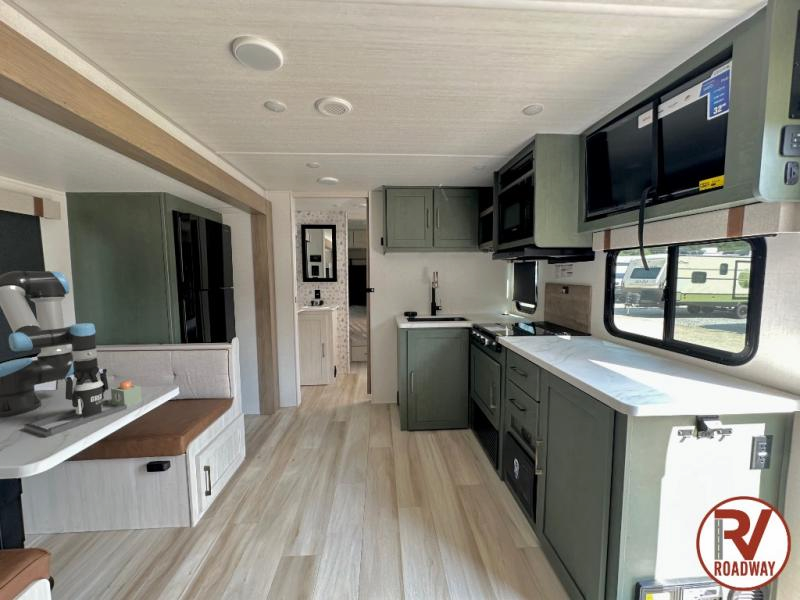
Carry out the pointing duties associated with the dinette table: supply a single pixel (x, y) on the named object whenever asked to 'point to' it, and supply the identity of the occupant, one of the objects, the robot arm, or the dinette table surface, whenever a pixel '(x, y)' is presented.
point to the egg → (125, 385)
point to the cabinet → (126, 395)
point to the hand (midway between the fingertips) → (89, 410)
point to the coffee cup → (90, 397)
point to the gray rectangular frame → (35, 425)
